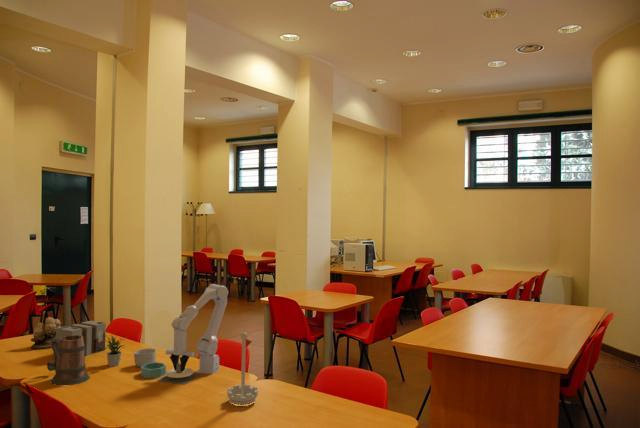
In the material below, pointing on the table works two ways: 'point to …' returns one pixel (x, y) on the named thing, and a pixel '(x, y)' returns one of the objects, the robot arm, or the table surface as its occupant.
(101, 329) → the bookend
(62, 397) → the table surface
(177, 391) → the table surface
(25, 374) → the table surface
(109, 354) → the house plant
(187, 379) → the mat
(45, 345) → the beige lumpy cluster
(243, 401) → the flag stand
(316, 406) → the table surface
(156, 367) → the bowl
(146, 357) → the teacup
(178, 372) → the lid
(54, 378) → the tankard
